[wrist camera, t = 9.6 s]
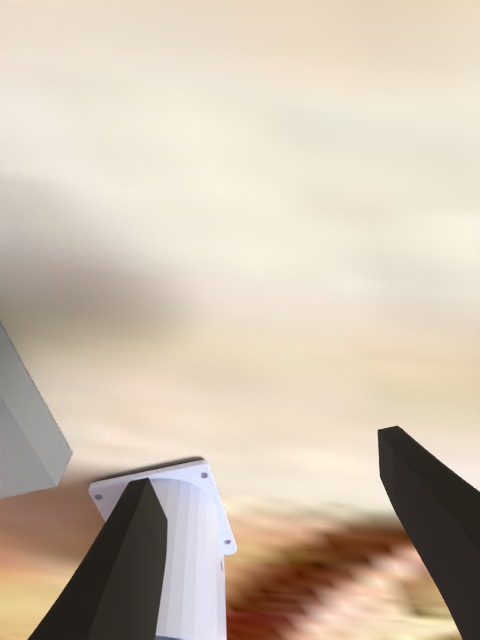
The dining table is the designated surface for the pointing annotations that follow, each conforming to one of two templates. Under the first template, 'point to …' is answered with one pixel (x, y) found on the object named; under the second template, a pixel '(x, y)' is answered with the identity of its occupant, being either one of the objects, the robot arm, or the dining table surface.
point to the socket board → (26, 431)
